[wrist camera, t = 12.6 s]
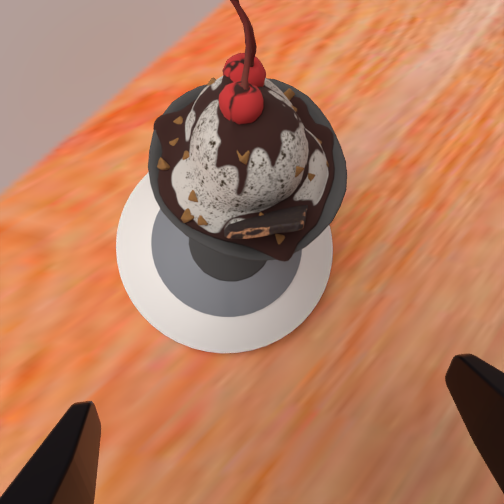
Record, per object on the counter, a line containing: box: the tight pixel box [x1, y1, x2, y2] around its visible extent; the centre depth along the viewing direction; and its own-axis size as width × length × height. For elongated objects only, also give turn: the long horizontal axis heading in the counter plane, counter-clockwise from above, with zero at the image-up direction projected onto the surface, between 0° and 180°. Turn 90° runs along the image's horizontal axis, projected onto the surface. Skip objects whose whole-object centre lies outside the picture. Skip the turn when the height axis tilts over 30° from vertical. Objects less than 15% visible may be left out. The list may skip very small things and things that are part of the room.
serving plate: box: [116, 172, 333, 353], centre depth 23 cm, size 13×13×1 cm
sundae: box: [148, 0, 347, 281], centre depth 15 cm, size 7×7×15 cm
